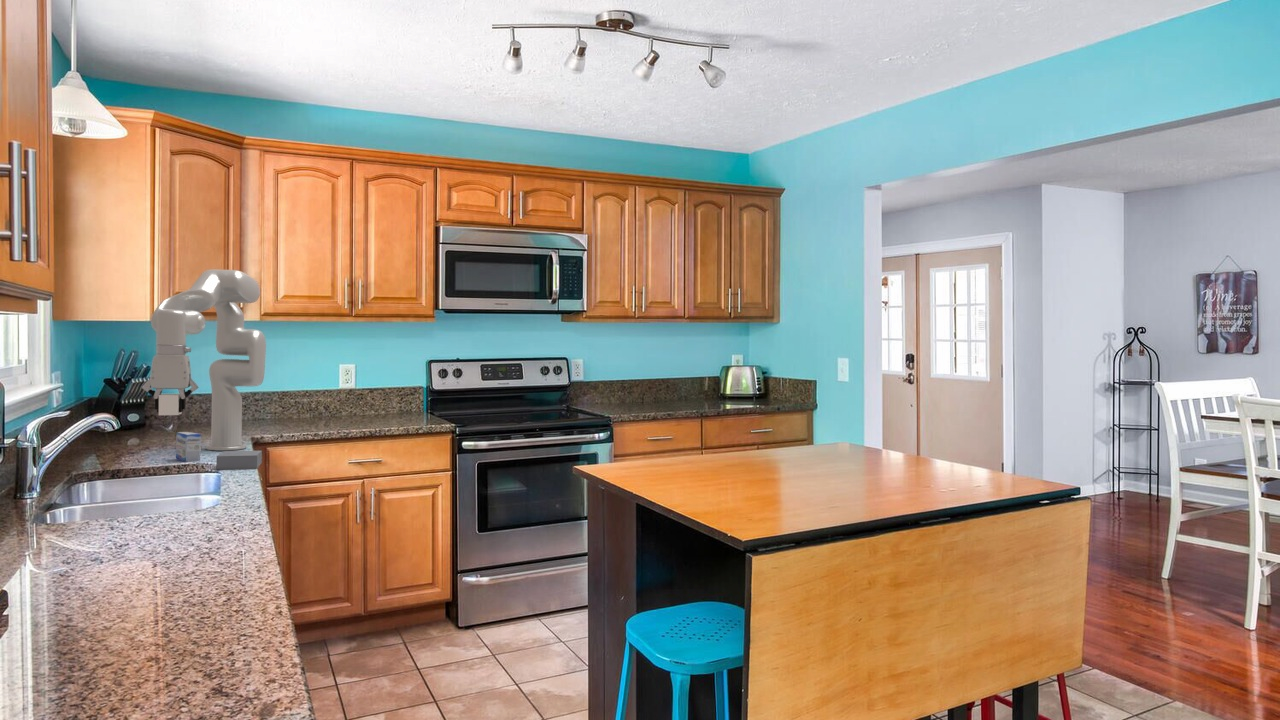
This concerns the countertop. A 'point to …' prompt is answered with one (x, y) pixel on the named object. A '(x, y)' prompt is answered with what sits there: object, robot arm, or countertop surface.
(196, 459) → the medicine box
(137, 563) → the countertop surface
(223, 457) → the plinth
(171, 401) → the cube
